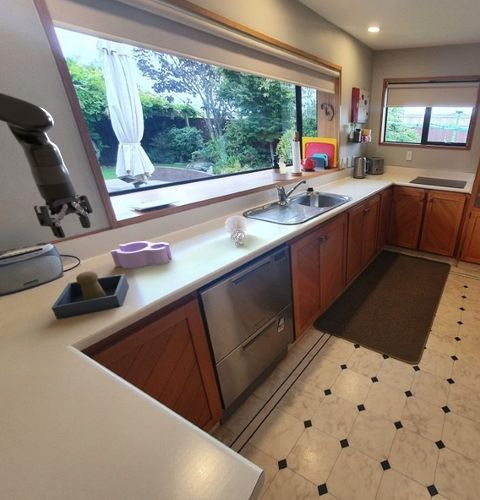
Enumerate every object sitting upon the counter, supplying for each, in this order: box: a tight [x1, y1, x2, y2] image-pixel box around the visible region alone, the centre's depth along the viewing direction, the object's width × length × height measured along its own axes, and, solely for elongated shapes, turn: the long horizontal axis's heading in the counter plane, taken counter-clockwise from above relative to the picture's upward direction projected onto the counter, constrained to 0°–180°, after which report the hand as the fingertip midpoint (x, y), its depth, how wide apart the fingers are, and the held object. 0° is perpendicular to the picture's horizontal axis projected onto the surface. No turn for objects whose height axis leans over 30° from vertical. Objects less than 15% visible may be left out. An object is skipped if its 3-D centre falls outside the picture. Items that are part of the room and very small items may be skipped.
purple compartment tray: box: [110, 240, 173, 269], centre depth 122 cm, size 20×12×7 cm, turn 101°
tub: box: [51, 273, 130, 321], centre depth 94 cm, size 16×16×6 cm
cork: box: [75, 270, 107, 301], centre depth 93 cm, size 6×6×11 cm
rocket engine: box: [224, 214, 248, 247], centre depth 146 cm, size 12×12×18 cm
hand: (74, 232), depth 88 cm, fingers open, 8 cm apart
